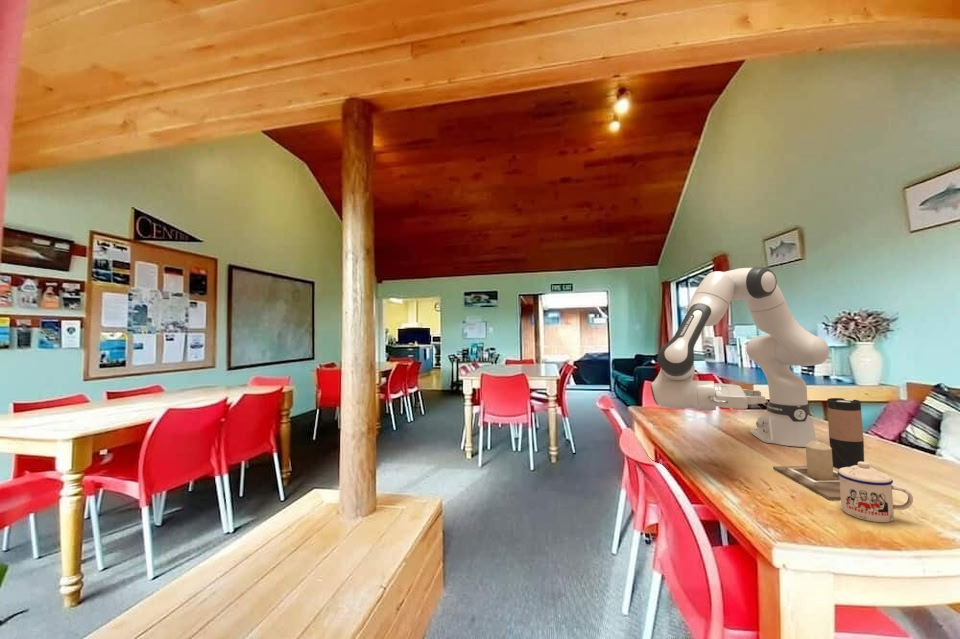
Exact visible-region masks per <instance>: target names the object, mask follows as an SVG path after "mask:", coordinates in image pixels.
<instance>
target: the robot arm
mask: <svg viewBox="0 0 960 639" xmlns="http://www.w3.org/2000/svg"><path fill="white" fill-rule="evenodd" d="M777 280H778V279H777V277H776V274H775V273H774V271H772V270H771V269H770V268H768V267H764V266H754V267H741V268H735V269H731V270H727V271H721V270H720V271H717V270H716V271H715V270H714V271H711V272H709V273H707V275H705V277H704V278H703V279H702V280H701V282H700V283H699V285H698V286H697V288H696V290H695V291H694V293H693V295H692V297H691V299H690V302H689V304H688V307H687V310H686V314H685V316H684V318H683V320H682V322H681V323H680V324H679V326H678V328H677V331H676V332H675V333H674V334H673V335H674V336H672V338H671V339H670V340H669V341H668V342H666V343H665V344H664V345H663V346H661V348H660V349H659V351H658V353H657V363H658V365H659V367H660V371H659V372H658V374H657V376H656V377H655V379H654V380H653V381H652V382H651V383H650V390H651V396H652V397H653V401H654V403H655V404H656V405H657V406H659V407H661V408H667V409H668V408H669V409H677V410H678V409H679V410H684V409H694V410H699V411H700V410H701V411H716V410H717V407H718V408H723V409H725V408H726V409H737V410H738V409H739V410H744V409H748V408H749V405H758V404H760V405H761V404H762V405H763V404H765V405H766V406H767V407H766V412H764V413H763V414H762V415H760V416H759V417H758V418H757V420H756V422H755V426H756V428H754V429H750V430H749V433H750V434H752V435H753V436H755V438H758V440H759V441H761V442H763V443H769V444H775V445H781V446H785V447H786V446H787V447H788V446H789V447H798V448H799V447H800V448H801V447H802V448H803V447H804V448H806V444H808V443H809V442H810V441H813V440H817V441H820V438H818V437H817V434H816V429H815V423H814V419H813V418H812V417H811V416H810V414H811V411H810V410H811V407H810V404H809V403H808V390H807V389H808V388H807V383H806V381H805V380H804V379H803V378H801V377H800V376H798V375H797V374H795V373H793V371H792V370H791V369H790V366H794V367H795V366H797V367H810V366H818V365H822V364H824V363H825V362H826V361H827V359H828V357H829V355H830V348H829V345H828V343H827V342H826V341H825V340H824V339H823V338H822V337H821V336H817V335H815V334H813V333H811V332H809V331H808V330H807V329H805V328H803V326H802V325H800V324H799V323H798V321H796V319H795V318H794V316H793V315H792V313H791V310H790V308H789V306H788V304H787V301H786V298H785V297H784V293H783V292H782V290H781V289H780V287H779V285H778V282H777ZM744 300H745V302H746V304H747V308H748V309H749V313H750V315H751V317H752V321H753V322H754V325H755V327H756V328H757V329H759V330H760V331H761V332H763V333H766V334H765V335H759V336H756V337H755V336H754V337H752V338H750V339H749V341H748V342H747V343H746V350H745V351H746V354H747V357H748V358H749V359H750V360H751V361H752V362H754V363H756V365H757V366H758V367H759V368H760V369H761V370H762V372H763V374H764V376H765V378H766V381H767V388H768V395H769V396H768V397H769V401H767V399H766V397H765V396H762V392H761V391H760V390H752V389H746V388H742V387H741V385H737V384H733V383H732V384H731V383H718V382H716V383H715V382H714V380H694V378H695V377H694V376H695V374H696V373H695V372H696V366H695V352H694V351H695V345H696V344H697V342H698V340H699V338H700V336H701V334H702V332H703V331H704V329H705V327H712V326H715V325H717V324H719V323H720V321H721V320H722V319H723V318H724V316H725V314H726V312H727V310H728V308H729V306H730V304H731V301H735V302H737V301H739V302H740V301H744Z"/></svg>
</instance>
